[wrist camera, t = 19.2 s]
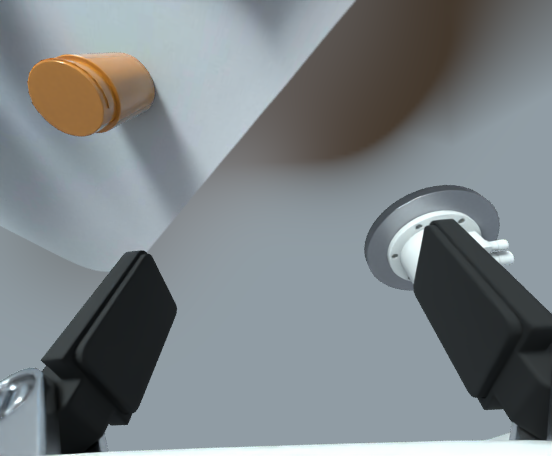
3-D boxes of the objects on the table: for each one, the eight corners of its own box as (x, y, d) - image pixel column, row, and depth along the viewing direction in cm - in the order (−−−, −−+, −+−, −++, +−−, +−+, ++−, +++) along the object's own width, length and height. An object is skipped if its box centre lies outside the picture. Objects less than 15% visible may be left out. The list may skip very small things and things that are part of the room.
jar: (140, 46, 27) (80, 47, 19) (163, 109, 31) (121, 133, 22) (85, 58, 28) (3, 64, 19) (114, 118, 31) (55, 145, 23)
